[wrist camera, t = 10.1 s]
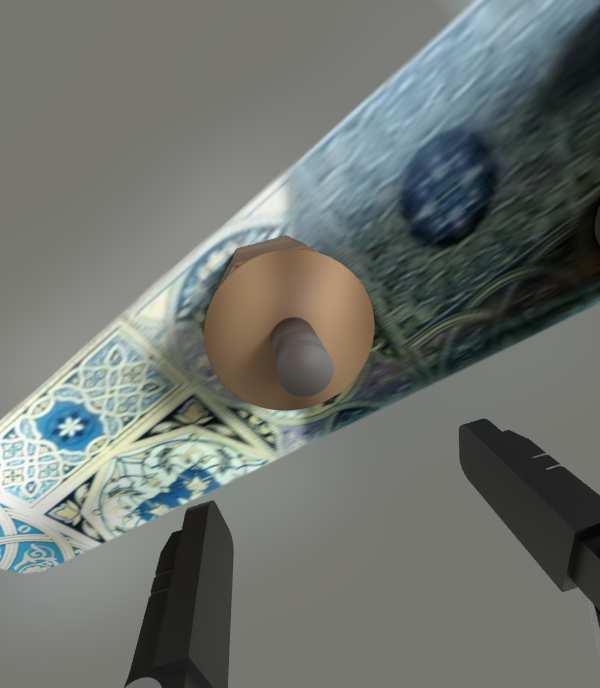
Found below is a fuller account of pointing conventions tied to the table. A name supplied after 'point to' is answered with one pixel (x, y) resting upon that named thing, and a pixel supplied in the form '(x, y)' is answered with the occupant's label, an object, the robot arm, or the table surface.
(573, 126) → the table surface
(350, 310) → the tan jar with knob
